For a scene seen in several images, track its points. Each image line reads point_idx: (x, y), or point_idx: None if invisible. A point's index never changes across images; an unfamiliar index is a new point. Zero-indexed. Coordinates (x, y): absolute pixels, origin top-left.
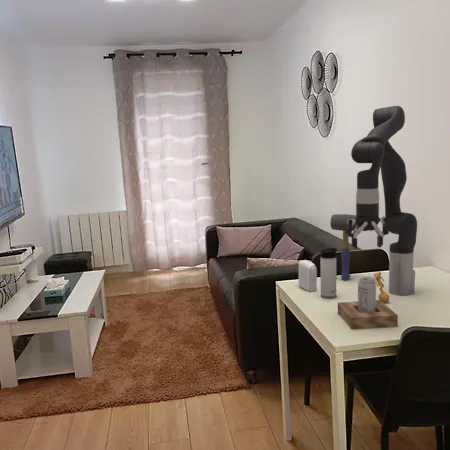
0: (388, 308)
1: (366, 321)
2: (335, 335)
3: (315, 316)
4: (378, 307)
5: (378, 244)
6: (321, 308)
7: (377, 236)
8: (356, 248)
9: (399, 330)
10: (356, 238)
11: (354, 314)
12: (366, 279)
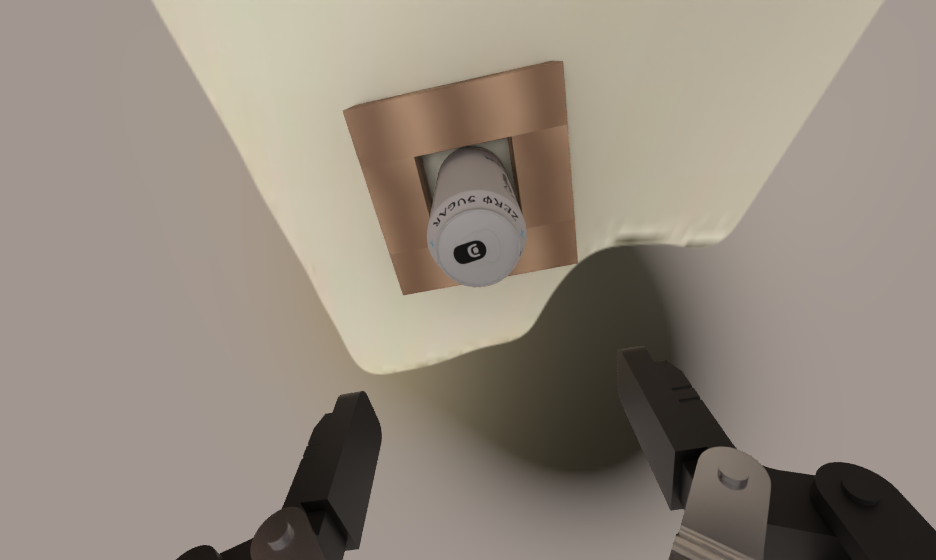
0: (566, 190)
1: None
2: (357, 319)
3: (264, 153)
4: (526, 179)
5: (627, 397)
6: (272, 37)
7: (670, 455)
8: (375, 433)
9: (562, 276)
10: (349, 546)
11: (416, 262)
12: (473, 262)
